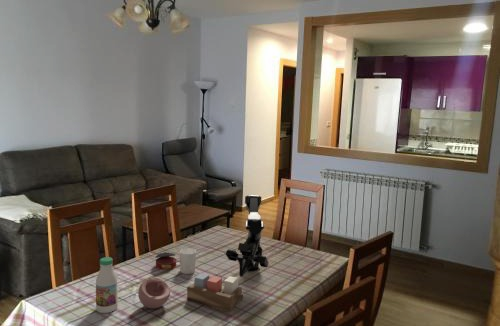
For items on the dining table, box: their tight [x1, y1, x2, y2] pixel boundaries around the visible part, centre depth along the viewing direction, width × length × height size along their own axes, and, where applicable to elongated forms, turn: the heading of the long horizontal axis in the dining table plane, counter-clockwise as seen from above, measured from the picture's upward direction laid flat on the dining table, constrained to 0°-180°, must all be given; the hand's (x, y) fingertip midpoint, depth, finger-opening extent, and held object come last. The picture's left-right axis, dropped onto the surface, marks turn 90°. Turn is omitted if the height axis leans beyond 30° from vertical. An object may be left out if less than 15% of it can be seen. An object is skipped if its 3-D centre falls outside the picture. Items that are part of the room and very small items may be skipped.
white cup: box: [179, 247, 197, 275], centre depth 191 cm, size 8×8×10 cm
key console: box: [186, 282, 244, 313], centre depth 164 cm, size 12×19×6 cm, turn 66°
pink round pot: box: [137, 277, 171, 309], centre depth 156 cm, size 12×12×12 cm
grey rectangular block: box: [193, 272, 210, 289], centre depth 165 cm, size 5×4×8 cm
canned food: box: [155, 252, 177, 271], centre depth 196 cm, size 11×10×10 cm
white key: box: [223, 275, 240, 295], centre depth 163 cm, size 5×4×8 cm
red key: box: [207, 275, 223, 292], centre depth 163 cm, size 5×4×8 cm
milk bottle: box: [95, 256, 118, 314], centre depth 153 cm, size 8×8×20 cm
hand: (240, 276), depth 171 cm, fingers closed
